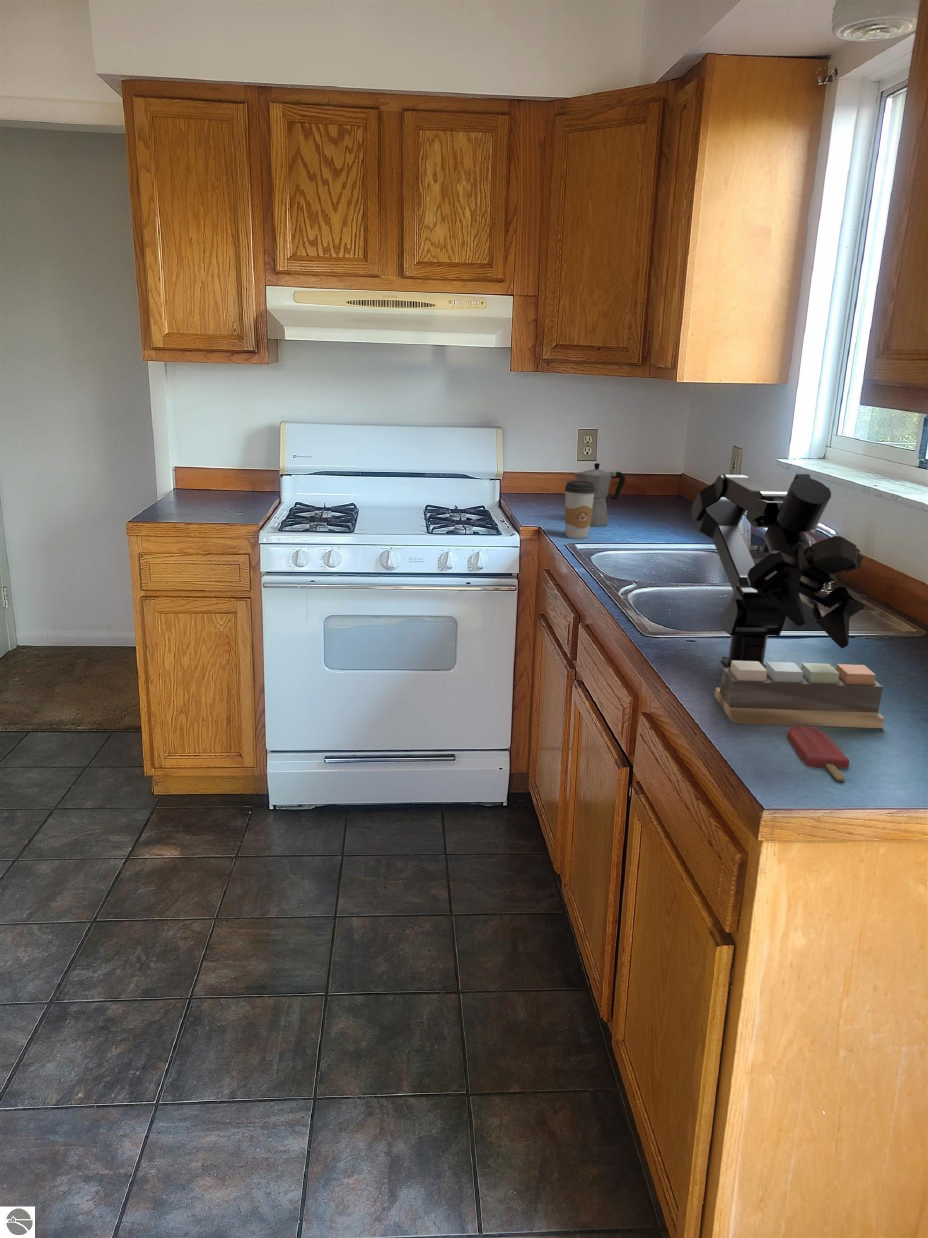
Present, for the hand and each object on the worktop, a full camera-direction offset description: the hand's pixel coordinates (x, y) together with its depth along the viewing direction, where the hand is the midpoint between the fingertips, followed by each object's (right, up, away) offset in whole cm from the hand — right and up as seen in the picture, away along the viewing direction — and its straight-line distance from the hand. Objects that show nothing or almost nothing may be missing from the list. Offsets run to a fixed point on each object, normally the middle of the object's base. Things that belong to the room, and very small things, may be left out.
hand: (823, 635), depth 124 cm
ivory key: (-8, -7, +8) cm, 14 cm away
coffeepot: (-10, +31, +145) cm, 148 cm away
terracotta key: (+7, -8, +8) cm, 13 cm away
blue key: (-3, -8, +8) cm, 11 cm away
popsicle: (-3, -16, -5) cm, 17 cm away
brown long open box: (0, -11, +9) cm, 15 cm away
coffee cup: (-18, +25, +126) cm, 130 cm away
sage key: (+2, -8, +8) cm, 11 cm away
